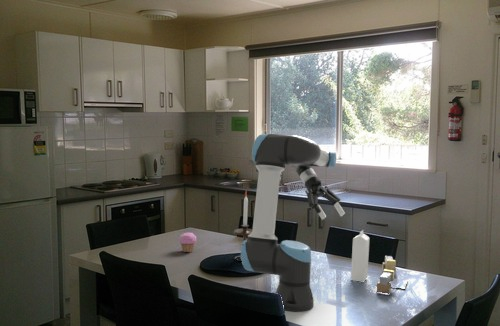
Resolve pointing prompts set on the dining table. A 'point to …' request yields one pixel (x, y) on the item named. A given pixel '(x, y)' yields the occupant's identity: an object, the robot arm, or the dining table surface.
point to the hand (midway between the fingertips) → (333, 216)
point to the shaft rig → (386, 275)
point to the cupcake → (187, 241)
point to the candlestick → (244, 223)
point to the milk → (360, 257)
